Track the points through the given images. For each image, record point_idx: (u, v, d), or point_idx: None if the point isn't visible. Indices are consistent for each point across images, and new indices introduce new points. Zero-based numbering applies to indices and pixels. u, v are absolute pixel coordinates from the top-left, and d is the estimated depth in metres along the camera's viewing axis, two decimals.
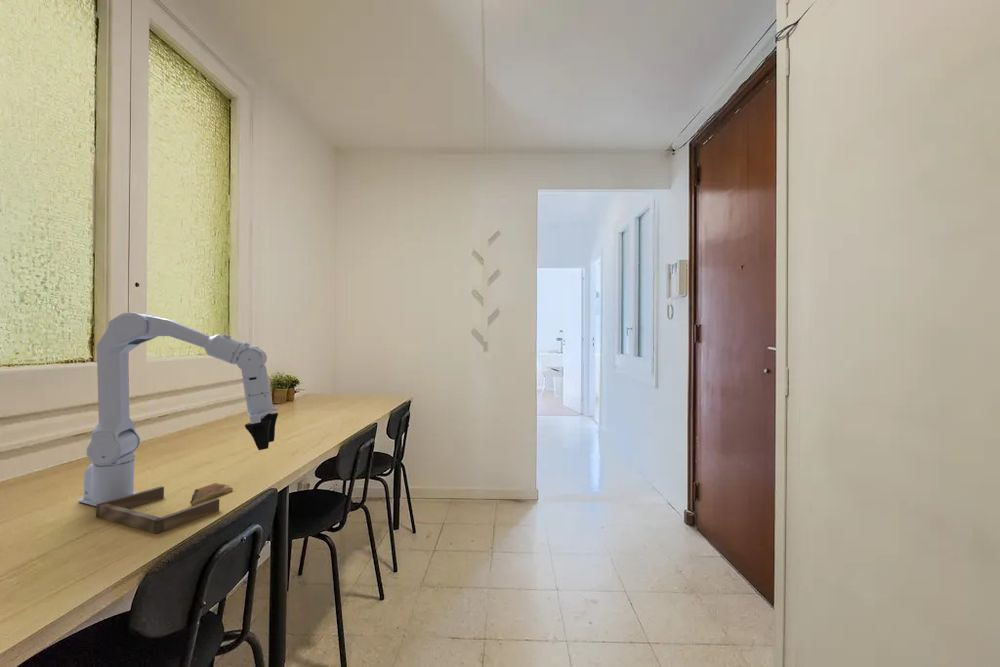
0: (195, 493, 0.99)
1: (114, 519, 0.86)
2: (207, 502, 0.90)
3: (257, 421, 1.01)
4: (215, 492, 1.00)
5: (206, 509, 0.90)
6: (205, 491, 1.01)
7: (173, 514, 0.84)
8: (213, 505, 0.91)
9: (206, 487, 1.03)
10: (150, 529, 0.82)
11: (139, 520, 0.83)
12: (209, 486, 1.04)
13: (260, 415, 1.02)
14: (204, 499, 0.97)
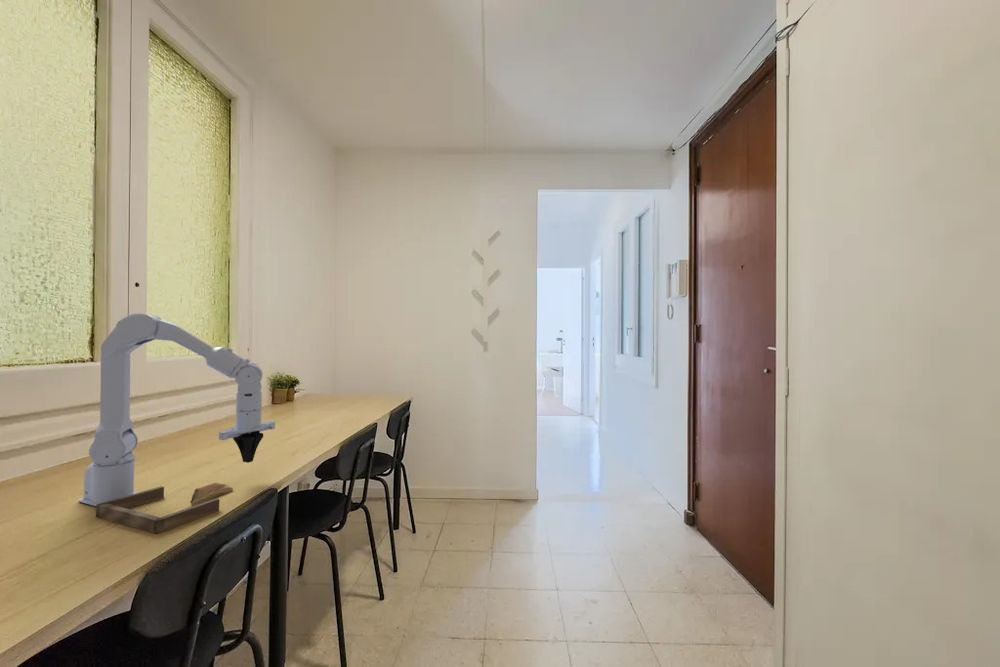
0: (195, 493, 0.99)
1: (114, 519, 0.86)
2: (207, 502, 0.90)
3: (222, 438, 1.03)
4: (215, 492, 1.00)
5: (206, 509, 0.90)
6: (205, 491, 1.01)
7: (173, 514, 0.84)
8: (213, 505, 0.91)
9: (206, 487, 1.03)
10: (150, 529, 0.82)
11: (139, 520, 0.83)
12: (209, 486, 1.04)
13: (228, 433, 1.04)
14: (204, 499, 0.97)
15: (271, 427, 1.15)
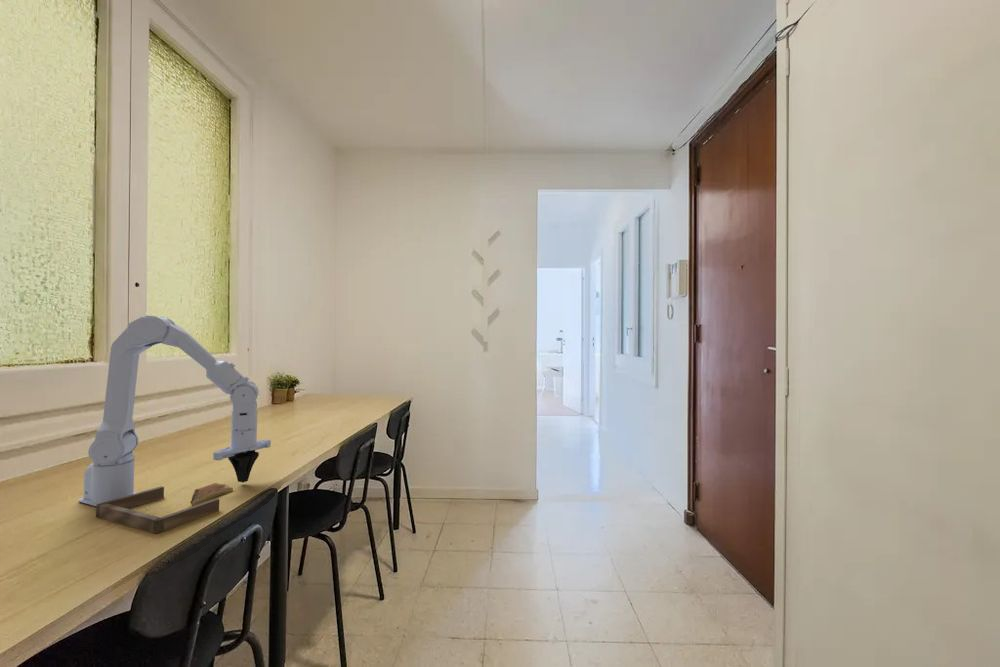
0: (195, 493, 0.99)
1: (114, 519, 0.86)
2: (207, 502, 0.90)
3: (217, 459, 1.02)
4: (215, 492, 1.00)
5: (206, 509, 0.90)
6: (205, 491, 1.01)
7: (173, 514, 0.84)
8: (213, 505, 0.91)
9: (206, 487, 1.03)
10: (150, 529, 0.82)
11: (139, 520, 0.83)
12: (209, 486, 1.04)
13: (223, 453, 1.02)
14: (204, 499, 0.97)
15: (267, 445, 1.14)
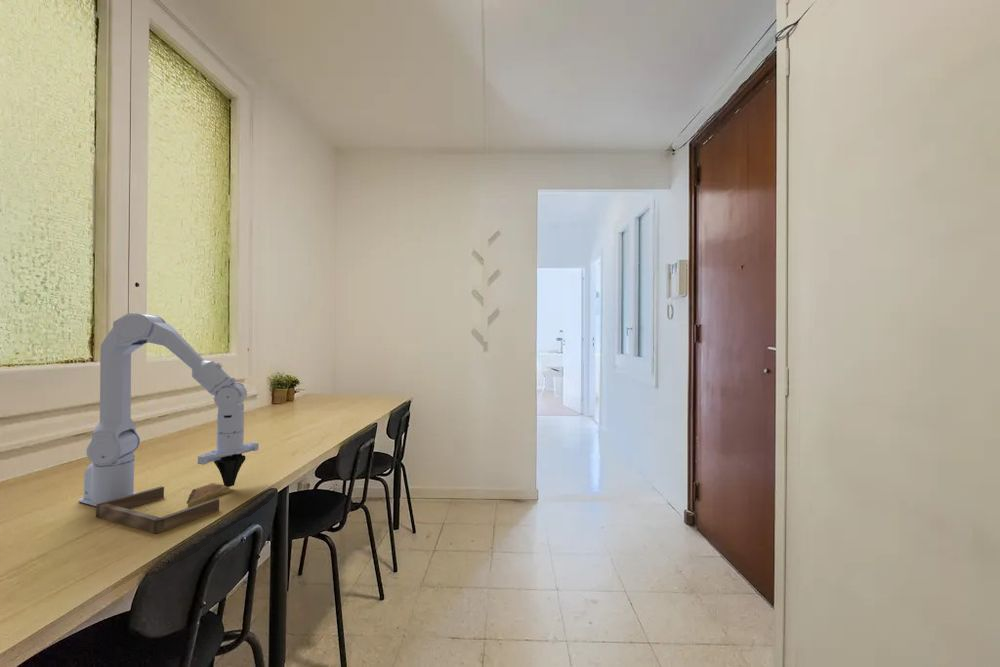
0: (192, 493, 0.99)
1: (114, 519, 0.86)
2: (207, 502, 0.90)
3: (201, 463, 0.98)
4: (212, 492, 1.00)
5: (206, 509, 0.90)
6: (202, 491, 1.00)
7: (173, 514, 0.84)
8: (213, 505, 0.91)
9: (204, 487, 1.03)
10: (150, 529, 0.82)
11: (139, 520, 0.83)
12: (207, 486, 1.03)
13: (207, 457, 0.99)
14: (201, 499, 0.97)
15: (254, 448, 1.11)
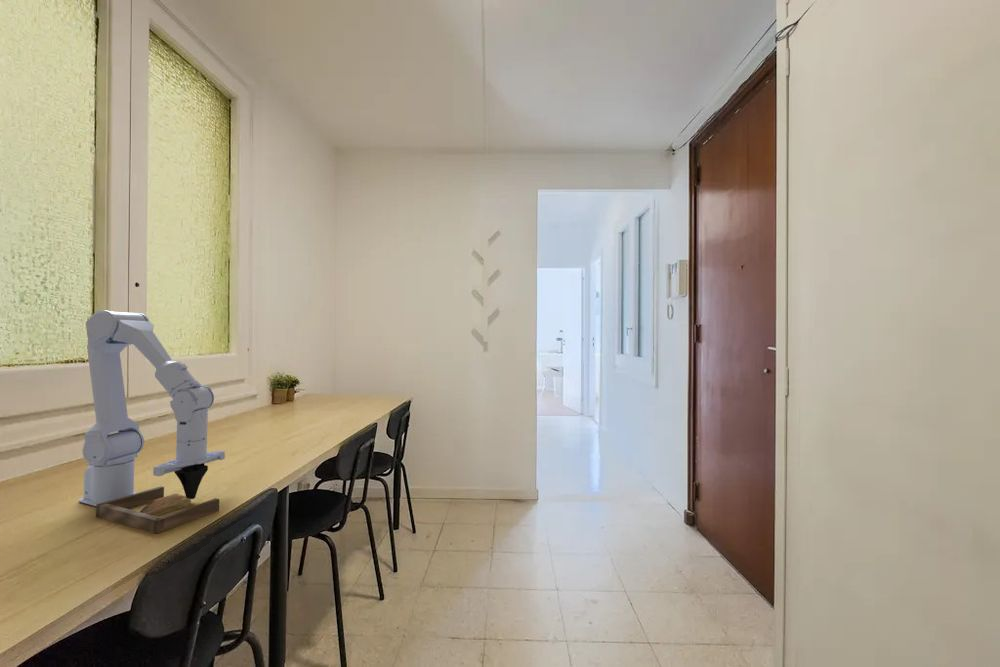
0: (147, 505, 0.91)
1: (114, 519, 0.86)
2: (207, 502, 0.90)
3: (157, 474, 0.90)
4: (168, 505, 0.91)
5: (206, 509, 0.90)
6: (159, 503, 0.92)
7: (173, 514, 0.84)
8: (213, 505, 0.91)
9: (163, 498, 0.95)
10: (150, 529, 0.82)
11: (139, 520, 0.83)
12: (167, 497, 0.95)
13: (164, 468, 0.90)
14: (153, 513, 0.89)
15: (220, 457, 1.02)
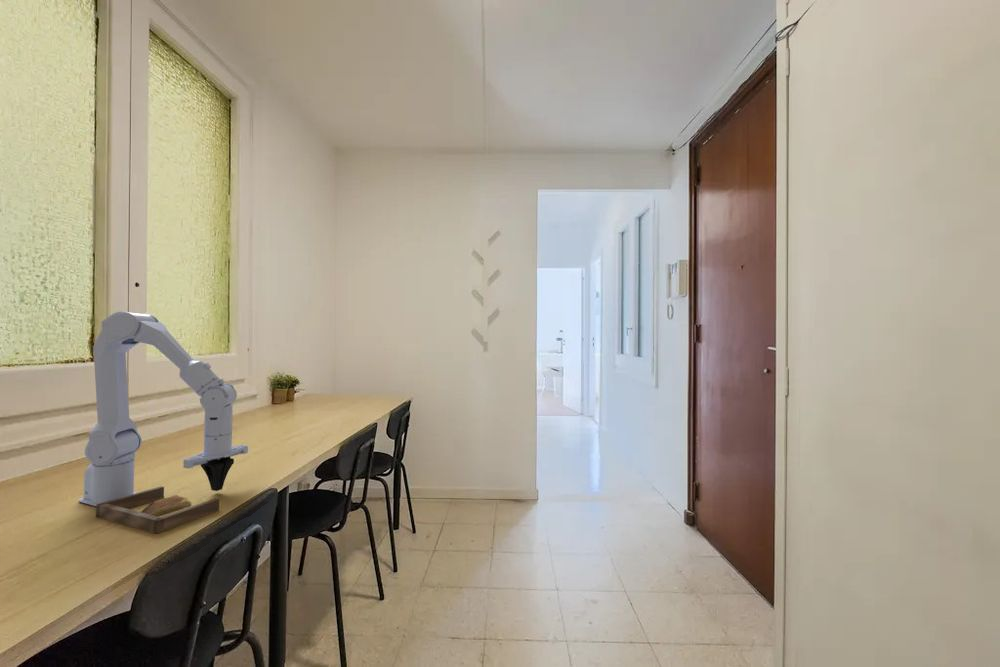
0: (147, 507, 0.91)
1: (114, 519, 0.86)
2: (207, 502, 0.90)
3: (187, 466, 0.95)
4: (168, 506, 0.91)
5: (206, 509, 0.90)
6: (159, 505, 0.92)
7: (173, 514, 0.84)
8: (213, 505, 0.91)
9: (163, 500, 0.95)
10: (150, 529, 0.82)
11: (139, 520, 0.83)
12: (167, 499, 0.95)
13: (194, 460, 0.96)
14: (153, 514, 0.89)
15: (243, 451, 1.08)
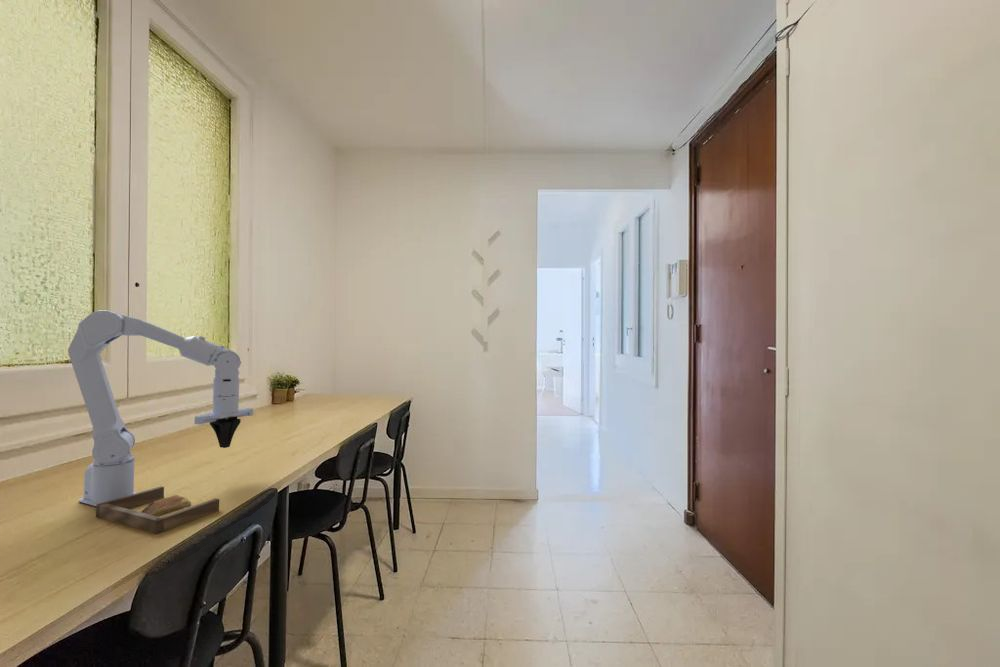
0: (148, 507, 0.91)
1: (114, 519, 0.86)
2: (207, 502, 0.90)
3: (198, 423, 1.03)
4: (168, 506, 0.91)
5: (206, 509, 0.90)
6: (159, 505, 0.92)
7: (173, 514, 0.84)
8: (213, 505, 0.91)
9: (163, 500, 0.95)
10: (150, 529, 0.82)
11: (139, 520, 0.83)
12: (167, 499, 0.95)
13: (204, 417, 1.04)
14: (153, 514, 0.89)
15: (249, 413, 1.16)
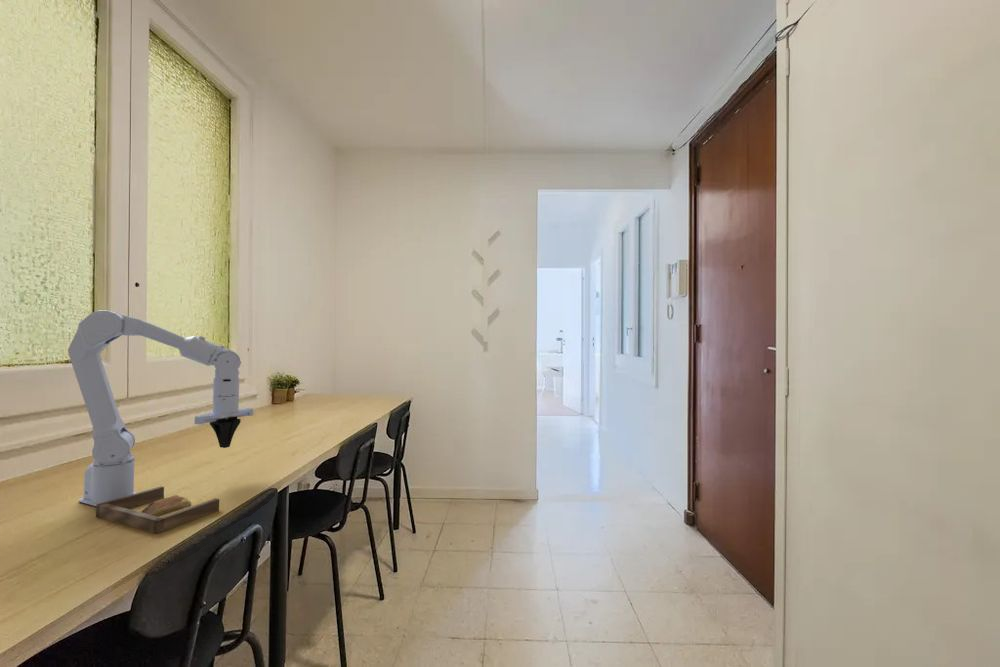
0: (148, 507, 0.91)
1: (114, 519, 0.86)
2: (207, 502, 0.90)
3: (198, 423, 1.03)
4: (168, 506, 0.91)
5: (206, 509, 0.90)
6: (159, 505, 0.92)
7: (173, 514, 0.84)
8: (213, 505, 0.91)
9: (163, 500, 0.95)
10: (150, 529, 0.82)
11: (139, 520, 0.83)
12: (167, 499, 0.95)
13: (204, 417, 1.04)
14: (154, 514, 0.89)
15: (249, 413, 1.16)
